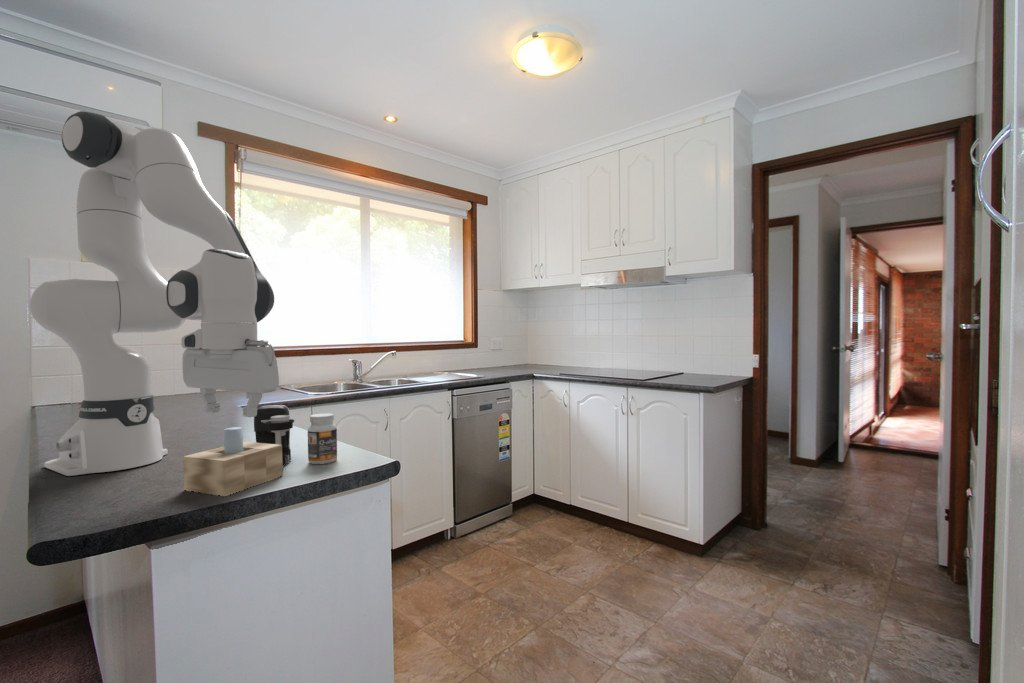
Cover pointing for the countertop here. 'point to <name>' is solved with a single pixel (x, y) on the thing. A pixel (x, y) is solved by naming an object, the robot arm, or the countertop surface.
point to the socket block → (232, 468)
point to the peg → (233, 440)
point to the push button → (281, 433)
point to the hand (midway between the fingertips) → (230, 414)
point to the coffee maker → (262, 429)
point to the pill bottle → (322, 439)
